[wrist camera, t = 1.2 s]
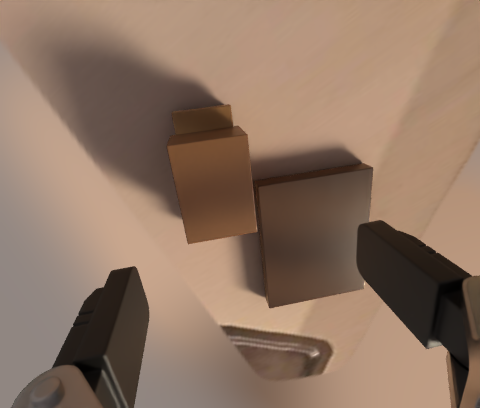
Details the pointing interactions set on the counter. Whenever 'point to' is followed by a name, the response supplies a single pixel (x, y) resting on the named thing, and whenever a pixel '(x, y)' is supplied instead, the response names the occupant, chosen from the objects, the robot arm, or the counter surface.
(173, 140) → the stepped wooden block
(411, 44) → the counter surface
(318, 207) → the board
